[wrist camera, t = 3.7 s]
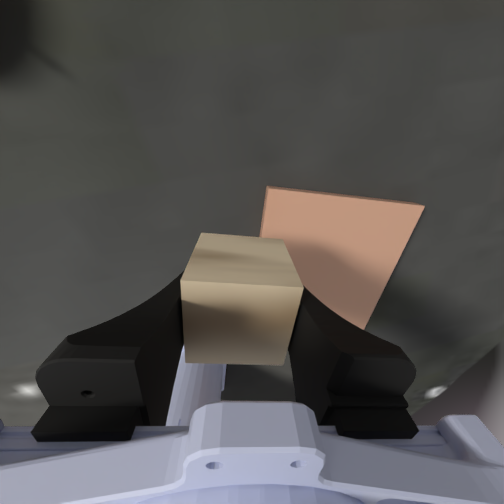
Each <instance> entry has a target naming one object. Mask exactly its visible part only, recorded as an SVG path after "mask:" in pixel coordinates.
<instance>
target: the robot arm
mask: <svg viewBox="0 0 504 504" xmlns="http://www.w3.org/2000/svg"><path fill="white" fill-rule="evenodd" d="M184 271H185V270H184ZM184 271H183V272H182V273H181V274H180V275H179V276H178V277H177V278H176V279H174V280H173V281H172V282H171V283H170V284H169V285H167V286H166V287H165V288H164V289H162V290H161V291H160V292H158V293H157V294H156V295H154V296H153V297H152V298H150V299H148V300H147V301H145V302H144V303H142V304H140V305H139V306H137V307H135V308H133V309H131V310H129V311H127V312H126V313H124V314H122V315H120V316H118V317H115V318H113V319H111V320H109V321H106V322H104V323H102V324H99V325H97V326H94V327H91V328H89V329H86V330H83V331H80V332H77V333H75V334H72V335H69V336H67V337H66V338H65V339H64V340H63V341H62V342H61V343H60V344H59V345H58V347H57V348H56V349H55V350H54V351H53V352H52V353H51V354H50V356H49V357H48V358H47V359H46V360H45V361H44V362H43V363H42V365H41V366H40V367H39V368H38V370H37V371H36V376H35V378H36V381H37V384H38V387H39V388H40V390H41V392H42V393H43V395H44V397H45V399H46V400H47V402H48V404H49V405H50V406H49V407H48V409H47V410H46V412H45V413H44V414H43V416H42V417H41V418H40V420H39V421H38V422H37V424H36V425H35V426H4V424H3V422H2V420H1V419H0V504H504V447H503V446H502V444H501V443H500V442H499V441H498V440H497V439H496V438H495V436H494V435H493V434H492V433H491V432H490V431H489V429H488V428H487V427H486V426H485V425H484V424H483V423H482V421H481V420H480V419H479V418H478V417H477V416H476V415H473V414H451V415H446V416H443V417H442V418H441V419H440V420H439V421H438V422H437V424H436V426H416V424H415V423H414V421H413V420H412V418H411V416H410V415H409V413H408V412H407V410H406V408H407V407H408V403H407V401H406V400H405V398H404V397H403V395H404V393H405V392H406V391H407V389H408V388H409V387H410V385H411V384H412V382H413V381H414V379H415V376H416V368H415V366H414V364H413V363H412V362H411V360H410V359H409V358H408V357H407V355H406V354H405V353H404V351H403V350H402V349H401V348H400V347H399V346H397V345H394V344H392V343H390V342H387V341H385V340H383V339H381V338H378V337H376V336H374V335H372V334H370V333H368V332H366V331H364V330H363V329H361V328H359V327H357V326H355V325H354V324H352V323H350V322H349V321H347V320H345V319H344V318H342V317H341V316H339V315H338V314H337V313H335V312H334V311H332V310H331V309H330V308H328V307H327V306H326V305H324V304H323V303H322V302H321V301H320V300H319V299H317V298H316V297H315V296H314V295H313V294H312V293H311V292H310V291H309V290H308V289H307V288H306V287H305V286H304V285H303V287H304V289H303V293H302V297H301V300H300V304H299V308H298V312H297V315H296V319H295V323H294V327H293V330H292V334H291V338H290V342H289V346H288V351H289V355H290V362H291V368H292V374H293V381H294V388H295V396H296V402H292V401H221V391H223V390H224V385H225V374H226V364H203V363H185V351H184V334H183V317H182V300H181V282H180V280H181V278H182V276H183V273H184Z"/></svg>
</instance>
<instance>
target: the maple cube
mask: <svg viewBox="0 0 504 504" xmlns="http://www.w3.org/2000/svg"><path fill="white" fill-rule="evenodd" d="M180 282H181V300H182V317H183V334H184V351H185V363H203V364H245V365H283V364H284V361H285V357H286V353H287V349H288V346H289V342H290V338H291V334H292V330H293V327H294V323H295V319H296V315H297V312H298V308H299V304H300V300H301V297H302V293H303V289H304V287H303V284H302V282H301V280H300V278H299V275H298V273H297V271H296V269H295V266H294V264H293V262H292V259H291V257H290V255H289V253H288V250H287V248H286V246H285V244H284V241H283V239H274V238H262V237H249V236H236V235H224V234H211V233H201V235H200V237H199V239H198V242H197V244H196V246H195V248H194V251H193V253H192V255H191V258H190V260H189V262H188V264H187V267H186V269H185V271H184V273H183V276H182V278H181V280H180Z"/></svg>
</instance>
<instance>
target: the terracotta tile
mask: <svg viewBox="0 0 504 504" xmlns="http://www.w3.org/2000/svg"><path fill="white" fill-rule="evenodd" d="M424 207H425V206H423V205H420V204H417V203H413V202H405V201H396V200H387V199H378V198H370V197H361V196H352V195H344V194H335V193H326V192H317V191H309V190H300V189H291V188H283V187H274V186H267V188H266V195H265V202H264V209H263V216H262V223H261V230H260V236H259V237H262V238H274V239H283V241H284V244H285V246H286V248H287V250H288V253H289V255H290V257H291V259H292V262H293V264H294V266H295V269H296V271H297V273H298V275H299V278H300V280H301V282H302V284H303V285H304V286H305V287H306V288H307V289H308V290H309V291H310V292H311V293H312V294H313V295H314V296H315V297H316V298H317V299H319V300H320V301H321V302H322V303H323V304H324V305H326V306H327V307H328V308H330V309H331V310H332V311H334V312H335V313H337V314H338V315H339V316H341V317H342V318H344V319H345V320H347V321H349V322H350V323H352V324H354V325H355V326H357V327H359V328H361V329H363V330H364V328H365V326H366V324H367V322H368V320H369V318H370V316H371V314H372V312H373V310H374V308H375V306H376V304H377V302H378V300H379V298H380V296H381V294H382V292H383V290H384V288H385V286H386V284H387V282H388V280H389V278H390V276H391V274H392V272H393V270H394V268H395V266H396V264H397V262H398V260H399V258H400V256H401V254H402V252H403V250H404V248H405V246H406V244H407V242H408V239H409V237H410V235H411V233H412V231H413V229H414V227H415V225H416V223H417V221H418V219H419V217H420V215H421V213H422V211H423V209H424Z"/></svg>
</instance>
